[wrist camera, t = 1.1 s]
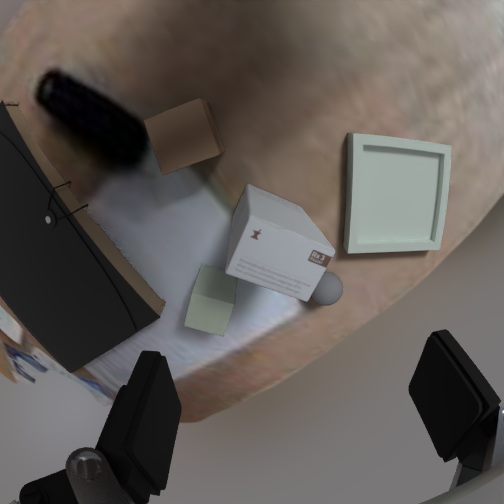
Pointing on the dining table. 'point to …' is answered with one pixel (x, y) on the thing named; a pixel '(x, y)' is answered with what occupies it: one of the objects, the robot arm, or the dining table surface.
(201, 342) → the dining table surface
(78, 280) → the file folder
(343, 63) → the dining table surface
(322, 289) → the grey ball
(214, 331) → the sage block
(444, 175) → the tray
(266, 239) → the skincare box
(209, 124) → the walnut cube
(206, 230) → the dining table surface
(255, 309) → the dining table surface
